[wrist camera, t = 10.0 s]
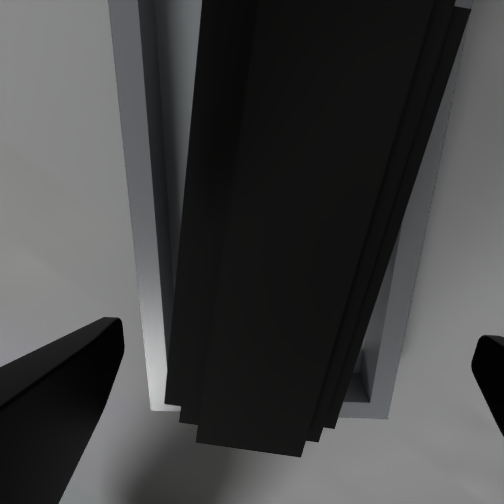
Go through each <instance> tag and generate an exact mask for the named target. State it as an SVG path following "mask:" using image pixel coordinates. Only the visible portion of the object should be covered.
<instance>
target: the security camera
mask: <svg viewBox="0 0 504 504" xmlns="http://www.w3.org/2000/svg"><path fill="white" fill-rule="evenodd" d="M455 2H456V0H202V7H201V17H200V28H199V39H198V49H197V60H196V70H195V81H194V92H193V102H192V113H191V124H190V134H189V145H188V155H187V166H186V177H185V187H184V198H183V208H182V219H181V230H180V240H179V251H178V262H177V272H176V283H175V293H174V304H173V315H172V325H171V336H170V346H169V357H168V368H167V378H166V389H165V400H164V404H167V405H174V406H181V411H180V419H179V422H181V423H188V424H195V425H198V431H197V438H196V443H203V444H210V445H217V446H224V447H231V448H238V449H245V450H252V451H259V452H266V453H273V454H280V455H287V456H295V457H301V455H302V452H303V448H304V445H305V441H313V442H319V439H320V436H321V433H322V430H323V427H325V428H332V429H335V426H336V423H337V420H338V416H339V413H340V410H341V407H342V404H343V401H344V398H345V395H346V392H347V389H348V386H349V383H350V380H351V377H352V374H353V371H354V367H355V364H356V361H357V358H358V355H359V352H360V349H361V346H362V343H363V340H364V337H365V334H366V331H367V328H368V325H369V322H370V318H371V315H372V312H373V309H374V306H375V303H376V300H377V297H378V294H379V291H380V288H381V285H382V282H383V279H384V276H385V273H386V269H387V266H388V263H389V260H390V257H391V254H392V251H393V248H394V245H395V242H396V239H397V236H398V233H399V230H400V227H401V224H402V220H403V217H404V214H405V211H406V208H407V205H408V202H409V199H410V196H411V193H412V190H413V187H414V184H415V181H416V178H417V175H418V171H419V168H420V165H421V162H422V159H423V156H424V153H425V150H426V147H427V144H428V141H429V138H430V135H431V132H432V129H433V126H434V122H435V119H436V116H437V113H438V110H439V107H440V104H441V101H442V98H443V95H444V92H445V89H446V86H447V83H448V80H449V77H450V73H451V70H452V67H453V64H454V61H455V58H456V55H457V52H458V49H459V46H460V43H461V40H462V37H463V34H464V31H465V28H466V24H467V21H468V18H469V15H470V12H471V9H468V8H463V7H458V6H454V5H455Z"/></svg>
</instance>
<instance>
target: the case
mask: <svg viewBox="0 0 504 504" xmlns="http://www.w3.org/2000/svg"><path fill="white" fill-rule="evenodd" d="M472 1H473V0H456V2H455V5H454V6H458V7H463V8H468V9H471V6H472ZM108 5H109V15H110V24H111V34H112V43H113V53H114V62H115V72H116V81H117V91H118V100H119V110H120V120H121V129H122V139H123V148H124V158H125V167H126V177H127V186H128V196H129V205H130V215H131V224H132V234H133V243H134V253H135V262H136V272H137V281H138V291H139V301H140V310H141V320H142V329H143V339H144V348H145V358H146V367H147V377H148V386H149V396H150V405H151V410H152V411H179V412H180V411H181V406H174V405H167V404H164V400H165V389H166V378H167V368H168V357H169V346H170V336H171V325H172V315H173V304H174V293H175V283H176V272H177V262H178V251H179V240H180V230H181V219H182V208H183V198H184V187H185V177H186V166H187V155H188V145H189V134H190V124H191V113H192V102H193V92H194V81H195V70H196V60H197V49H198V39H199V28H200V17H201V7H202V0H108ZM468 20H469V18H468ZM467 25H468V21H467V24H466V28H465V31H464V34H463V37H462V40H461V43H460V46H459V49H458V52H457V55H456V58H455V61H454V64H453V67H452V70H451V73H450V77H449V80H448V83H447V86H446V89H445V92H444V95H443V98H442V101H441V104H440V107H439V110H438V113H437V116H436V119H435V122H434V126H433V129H432V132H431V135H430V138H429V141H428V144H427V147H426V150H425V153H424V156H423V159H422V162H421V165H420V168H419V171H418V175H417V178H416V181H415V184H414V187H413V190H412V193H411V196H410V199H409V202H408V205H407V208H406V211H405V214H404V217H403V220H402V224H401V227H400V230H399V233H398V236H397V239H396V242H395V245H394V248H393V251H392V254H391V257H390V260H389V263H388V266H387V269H386V273H385V276H384V279H383V282H382V285H381V288H380V291H379V294H378V297H377V300H376V303H375V306H374V309H373V312H372V315H371V318H370V322H369V325H368V328H367V331H366V334H365V337H364V340H363V343H362V346H361V349H360V352H359V355H358V358H357V361H356V364H355V367H354V371H353V374H352V377H351V380H350V383H349V386H348V389H347V392H346V395H345V398H344V401H343V404H342V407H341V410H340V413H339V416H338V417H344V418H372V419H388V414H389V409H390V404H391V399H392V394H393V389H394V384H395V379H396V374H397V369H398V364H399V360H400V355H401V350H402V345H403V340H404V335H405V330H406V325H407V320H408V315H409V310H410V305H411V301H412V296H413V291H414V286H415V281H416V276H417V271H418V266H419V261H420V256H421V251H422V246H423V242H424V237H425V232H426V227H427V222H428V217H429V212H430V207H431V202H432V197H433V192H434V187H435V183H436V178H437V173H438V168H439V163H440V158H441V153H442V148H443V143H444V138H445V133H446V128H447V124H448V119H449V114H450V109H451V104H452V99H453V94H454V89H455V84H456V79H457V74H458V69H459V65H460V60H461V55H462V50H463V45H464V40H465V35H466V30H467Z"/></svg>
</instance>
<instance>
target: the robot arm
mask: <svg viewBox="0 0 504 504" xmlns="http://www.w3.org/2000/svg"><path fill="white" fill-rule="evenodd" d="M124 347H125V346H124V336H123V326H122V321H121V319H120V318H114V317H103V318H101V319H99V320H97V321H95V322H93V323H91V324H89V325H86V326H84V327H82V328H80V329H78V330H76V331H74V332H72V333H70V334H68V335H66V336H64V337H62V338H60V339H58V340H55V341H53V342H51V343H49V344H47V345H45V346H43V347H41V348H39V349H37V350H35V351H33V352H31V353H29V354H27V355H25V356H22V357H20V358H18V359H16V360H14V361H12V362H10V363H8V364H6V365H4V366H2V367H0V504H59V502H60V499H61V497H62V495H63V493H64V491H65V489H66V487H67V485H68V483H69V481H70V479H71V477H72V475H73V473H74V471H75V469H76V467H77V464H78V462H79V460H80V458H81V456H82V454H83V452H84V450H85V448H86V446H87V444H88V442H89V440H90V438H91V436H92V434H93V431H94V429H95V427H96V425H97V423H98V421H99V419H100V417H101V415H102V413H103V410H104V408H105V405H106V403H107V400H108V397H109V394H110V392H111V389H112V386H113V383H114V380H115V377H116V375H117V372H118V369H119V366H120V363H121V360H122V358H123V354H124ZM471 367H472V372H473V374H474V377H475V379H476V381H477V383H478V385H479V387H480V389H481V392H482V394H483V396H484V398H485V400H486V402H487V404H488V406H489V409H490V411H491V413H492V415H493V417H494V419H495V421H496V423H497V425H498V427H499V429H500V431H501V433H502V435H503V436H504V337H501V336H494V335H483V336H481V337H480V338H479V340H478V343H477V346H476V349H475V353H474V356H473V359H472V364H471Z"/></svg>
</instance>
